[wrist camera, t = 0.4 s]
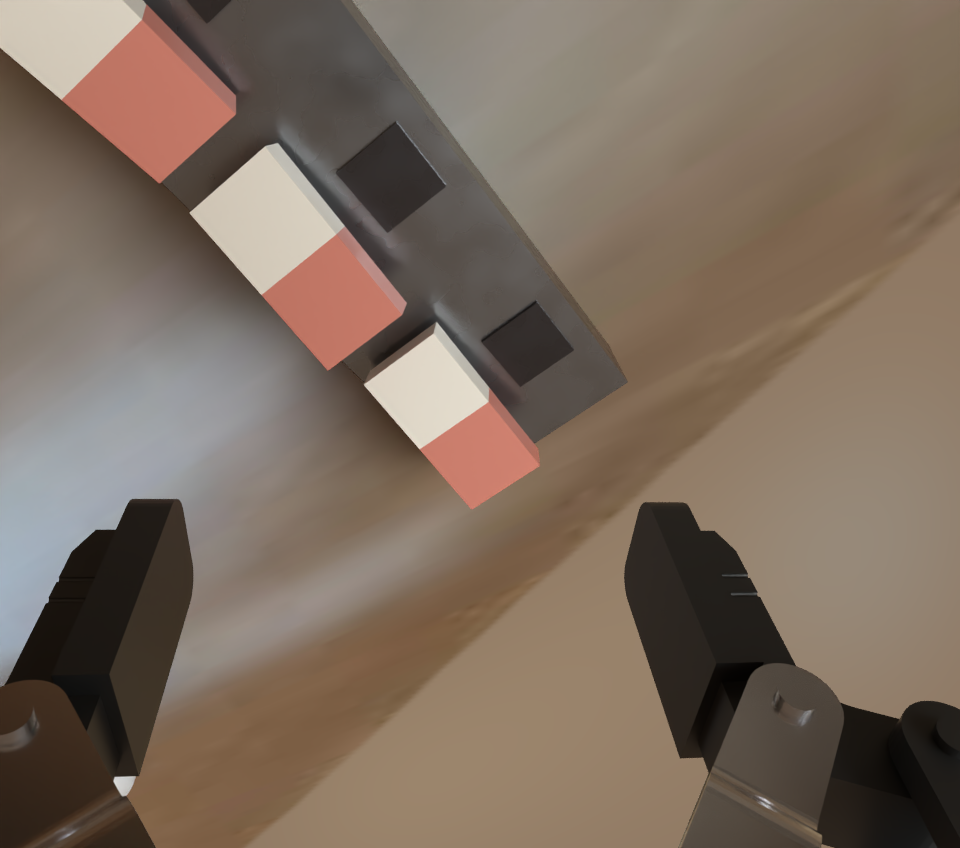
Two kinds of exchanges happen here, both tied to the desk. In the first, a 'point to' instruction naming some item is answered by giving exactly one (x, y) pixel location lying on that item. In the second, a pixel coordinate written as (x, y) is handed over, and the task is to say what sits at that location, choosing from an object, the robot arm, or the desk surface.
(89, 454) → the desk surface
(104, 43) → the rocker
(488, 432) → the rocker
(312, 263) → the block
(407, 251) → the power strip
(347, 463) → the desk surface
